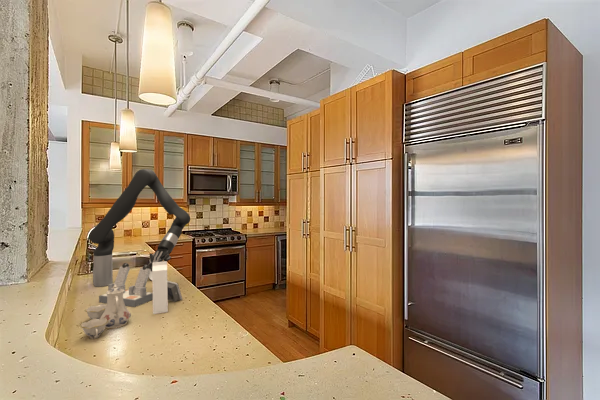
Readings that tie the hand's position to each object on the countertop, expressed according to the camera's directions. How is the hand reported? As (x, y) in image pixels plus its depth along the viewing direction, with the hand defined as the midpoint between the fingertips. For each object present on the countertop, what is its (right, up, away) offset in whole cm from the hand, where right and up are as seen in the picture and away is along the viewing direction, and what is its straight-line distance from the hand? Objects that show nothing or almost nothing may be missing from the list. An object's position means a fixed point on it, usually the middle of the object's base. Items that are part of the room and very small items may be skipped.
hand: (151, 270), depth 162 cm
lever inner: (-15, -9, -5) cm, 18 cm away
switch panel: (-9, -13, -6) cm, 17 cm away
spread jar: (-13, -13, +33) cm, 38 cm away
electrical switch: (+13, -13, -6) cm, 20 cm away
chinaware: (-1, -14, -36) cm, 39 cm away
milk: (+13, -14, -20) cm, 28 cm away
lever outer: (-3, -9, -9) cm, 13 cm away
